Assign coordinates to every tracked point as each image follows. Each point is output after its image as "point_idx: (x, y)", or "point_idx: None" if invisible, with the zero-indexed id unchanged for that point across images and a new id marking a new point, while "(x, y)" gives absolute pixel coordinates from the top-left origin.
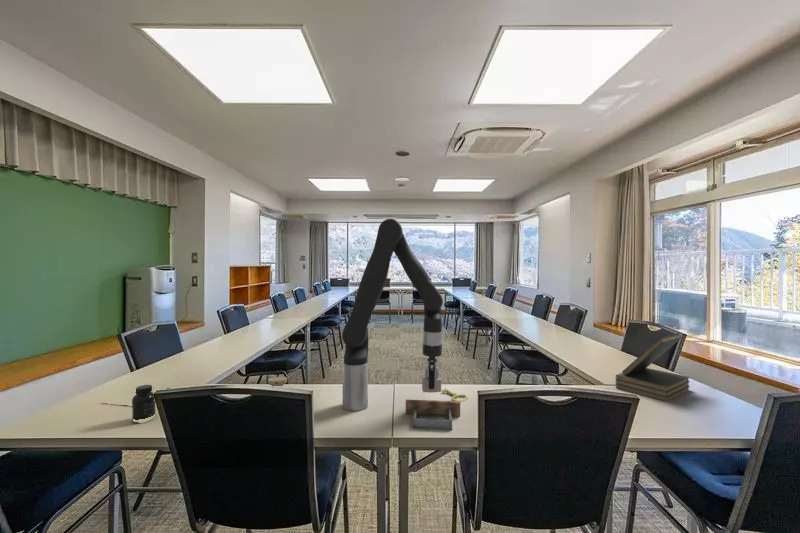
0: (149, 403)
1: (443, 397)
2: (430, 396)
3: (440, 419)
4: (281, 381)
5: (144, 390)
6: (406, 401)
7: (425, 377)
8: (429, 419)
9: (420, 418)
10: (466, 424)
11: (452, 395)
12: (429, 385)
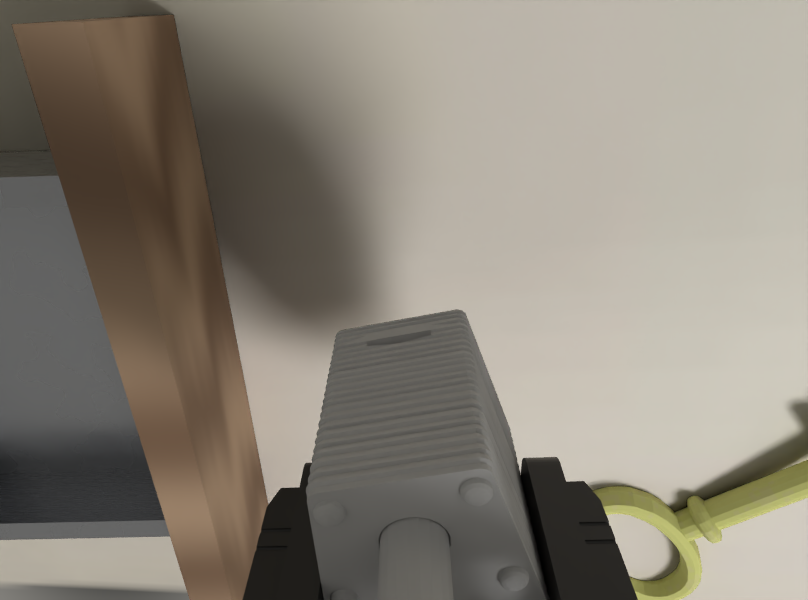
0: None
1: (693, 419)
2: (746, 291)
3: (85, 409)
4: None
5: None
6: (24, 42)
7: (387, 559)
8: None
9: (27, 225)
10: (104, 564)
11: (713, 501)
12: (300, 510)
